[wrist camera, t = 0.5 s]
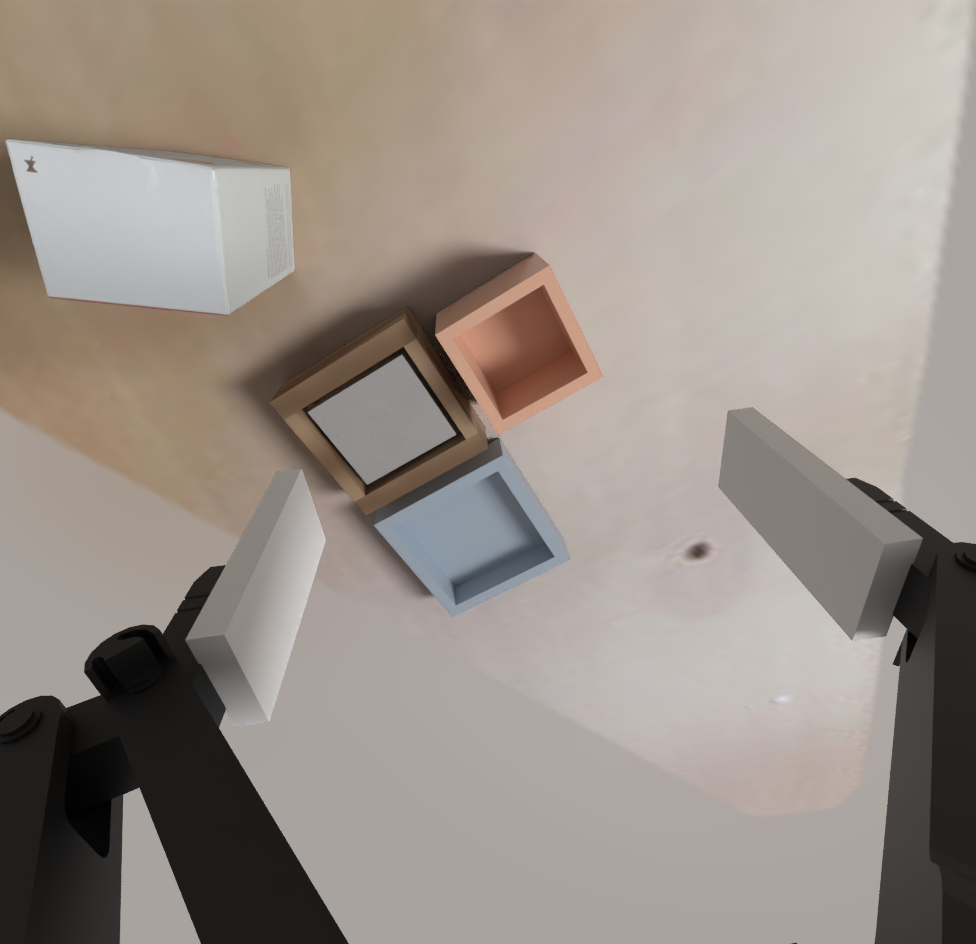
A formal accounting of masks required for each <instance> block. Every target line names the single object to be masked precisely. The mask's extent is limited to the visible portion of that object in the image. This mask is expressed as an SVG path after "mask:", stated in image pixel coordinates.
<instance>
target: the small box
mask: <svg viewBox="0 0 976 944" xmlns="http://www.w3.org/2000/svg"><path fill="white" fill-rule="evenodd" d="M5 144H6V147H7V150H8V153H9V157H10V160H11V164H12V168H13V172H14V176H15V180H16V183H17V187H18V191H19V195H20V198H21V202H22V206H23V209H24V213H25V217H26V220H27V224H28V228H29V231H30V235H31V238H32V242H33V245H34V249H35V252H36V256H37V260H38V264H39V267H40V271H41V274H42V278H43V281H44V284H45V288H46V292H47V295H48V297H50V298H55V299H65V300H74V301H84V302H94V303H104V304H114V305H124V306H134V307H144V308H154V309H164V310H175V311H185V312H195V313H206V314H216V315H226V316H228V315H230V314H231V313H233V312H234V311H236V310H237V309H239V308H240V307H242V306H243V305H245V304H246V303H248V302H249V301H251V300H252V299H253V298H255V297H256V296H258V295H260V294H261V293H262V292H264V291H265V290H267V289H268V288H270V287H271V286H273V285H274V284H276V283H277V282H279V281H280V280H282V279H283V278H285V277H286V276H288V275H289V274H291V273H292V272H294V270H295V266H294V247H293V227H292V206H291V185H290V170H289V168H287V167H282V166H275V165H269V164H262V163H255V162H248V161H241V160H234V159H226V158H219V157H211V156H204V155H196V154H188V153H179V152H170V151H159V150H142V149H124V148H113V147H102V146H92V145H81V144H69V143H57V142H44V141H32V140H17V139H6V140H5Z"/></svg>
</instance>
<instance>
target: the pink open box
mask: <svg viewBox="0 0 976 944" xmlns="http://www.w3.org/2000/svg"><path fill="white" fill-rule="evenodd" d="M435 336H436V337H437V339H438V340H439V342H440V344H441V345H442V347H443V348H444V350H445V351H446V353H447V355H448V356H449V358H450V359H451V361H452V362H453V364H454V366H455V367H456V369H457V370H458V372H459V374H460V375H461V377H462V378H463V380H464V381H465V383H466V385H467V386H468V388H469V389H470V391H471V392H472V394H473V396H474V397H475V399H476V400H477V402H478V403H479V405H480V407H481V408H482V410H483V411H484V413H485V414H486V416H487V418H488V419H489V421H490V422H491V424H492V426H493V427H494V429H495V430H496V432H497V433H498V435H499V434H501V433H502V432H504V431H506V430H508V429H510V428H511V427H513V426H515V425H517V424H519V423H521V422H522V421H524V420H526V419H528V418H530V417H531V416H533V415H535V414H537V413H539V412H540V411H542V410H544V409H546V408H548V407H549V406H551V405H553V404H555V403H557V402H559V401H560V400H562V399H564V398H566V397H568V396H569V395H571V394H573V393H575V392H577V391H578V390H580V389H582V388H584V387H586V386H587V385H589V384H591V383H593V382H595V381H597V380H598V379H600V378H602V377H604V376H603V374H602V372H601V370H600V368H599V366H598V364H597V362H596V359H595V357H594V355H593V353H592V351H591V349H590V347H589V345H588V343H587V341H586V339H585V337H584V335H583V333H582V331H581V329H580V327H579V325H578V322H577V320H576V318H575V316H574V314H573V312H572V310H571V308H570V306H569V304H568V302H567V300H566V298H565V296H564V294H563V292H562V290H561V288H560V285H559V283H558V281H557V279H556V277H555V275H554V273H553V271H552V269H551V267H550V265H549V264H548V263H546V262H545V261H544V260H543V259H542V258H541V257H539V256H538V255H537V254H536V253H533V254H531V255H530V256H528V257H527V258H525V259H523V260H522V261H520V262H519V263H517V264H515V265H514V266H512V267H510V268H509V269H507V270H506V271H504V272H502V273H501V274H499V275H498V276H496V277H494V278H493V279H491V280H489V281H488V282H486V283H485V284H483V285H481V286H480V287H478V288H477V289H475V290H473V291H472V292H470V293H468V294H467V295H465V296H464V297H462V298H460V299H459V300H457V301H456V302H454V303H452V304H451V305H449V306H447V307H446V308H444V309H443V310H441V311H439V312H438V313H436V328H435Z"/></svg>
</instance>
